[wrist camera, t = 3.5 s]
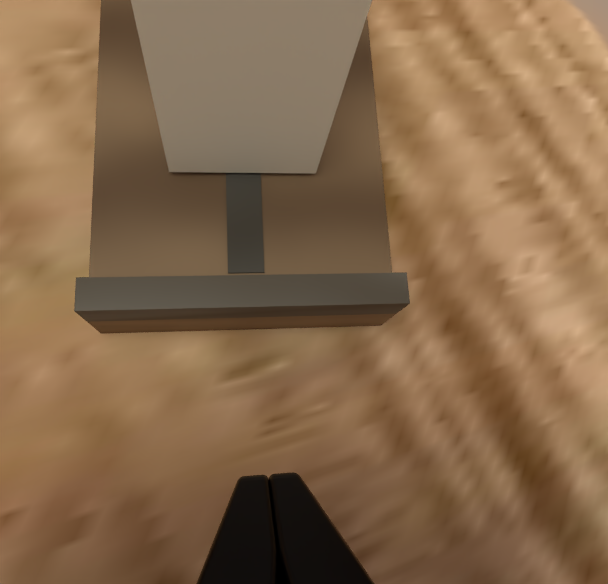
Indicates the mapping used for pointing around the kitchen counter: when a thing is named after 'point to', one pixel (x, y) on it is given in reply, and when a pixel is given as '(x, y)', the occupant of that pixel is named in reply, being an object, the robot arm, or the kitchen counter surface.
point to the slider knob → (247, 79)
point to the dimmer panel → (231, 219)
